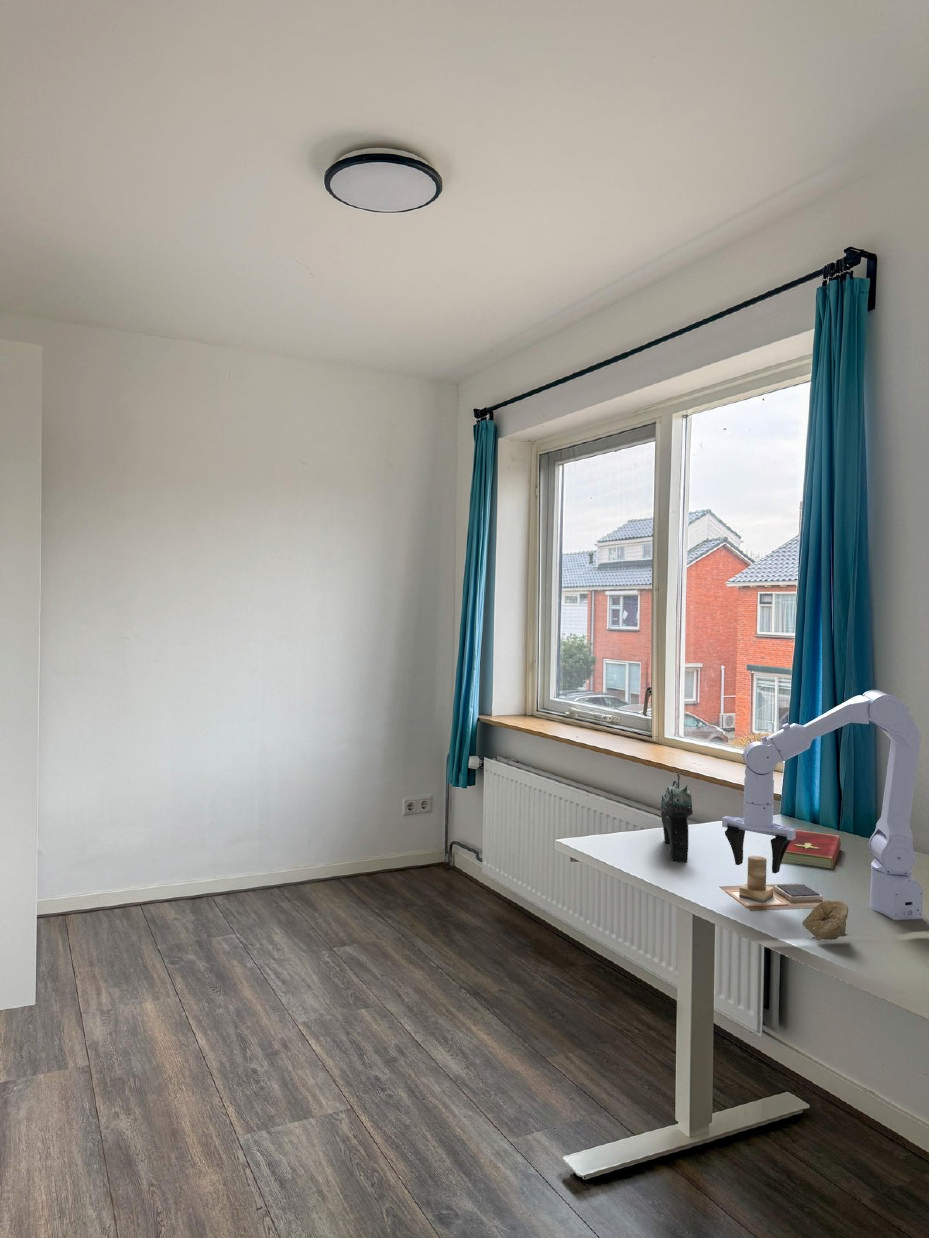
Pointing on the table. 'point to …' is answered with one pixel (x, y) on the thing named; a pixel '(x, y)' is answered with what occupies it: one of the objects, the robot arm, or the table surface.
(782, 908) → the board
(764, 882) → the stamp
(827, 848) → the hardcover book
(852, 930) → the table surface
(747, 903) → the square coaster
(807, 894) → the ink pad
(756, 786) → the robot arm
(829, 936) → the fossil
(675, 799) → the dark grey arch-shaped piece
